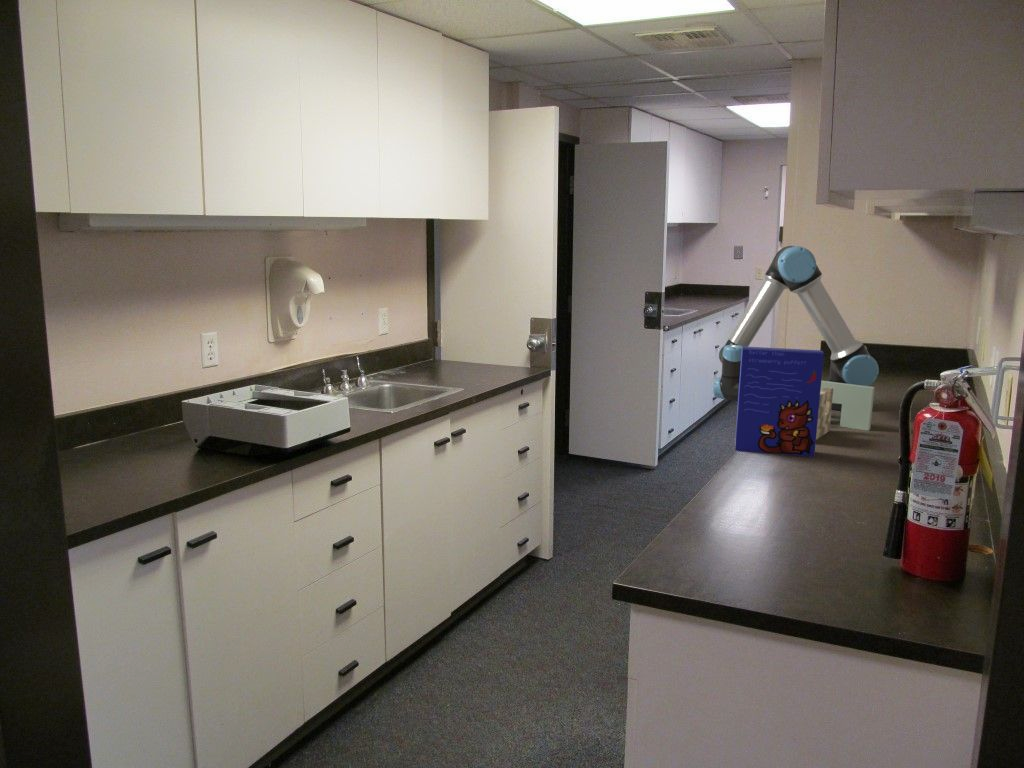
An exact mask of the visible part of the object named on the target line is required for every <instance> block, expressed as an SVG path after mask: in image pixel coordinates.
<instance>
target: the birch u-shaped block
mask: <svg viewBox="0 0 1024 768" xmlns="http://www.w3.org/2000/svg"><path fill="white" fill-rule="evenodd" d="M832 399H833V388H828V387H825V388H823V391H820V401H819V411H818V422H817V433H816V441H817V440H819V438H822V437H823V436H824V435H826V434H827V433H828V432H830V428H831V427H830V426H831V418H832V410H833V409H832Z"/></svg>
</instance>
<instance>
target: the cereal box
mask: <svg viewBox="0 0 1024 768" xmlns="http://www.w3.org/2000/svg"><path fill="white" fill-rule="evenodd" d="M824 356H825V353H824V351H823V350H822V349H821V350H820V349H819V350H818V349H800V348H799V349H798V348H781V347H780V348H779V347H766V346H765V347H763V346H761V347H759V346H748V347H745V346H742V353H741V367H740V380H739V394H738V401H737V410H736V421H735V422H736V423H735V425H736V426H735V434H734V436H735V437H734V451H738V452H747V453H748V452H749V453H750V452H751V453H761V454H775V455H784V456H785V455H788V456H801V457H813V458H814V457H815V452H816V444H817V443H816V441H817V440H816V433H817V422H818V411H819V401H820V390H821V381H822V379H823V368H824V367H823V366H824V358H825V357H824Z"/></svg>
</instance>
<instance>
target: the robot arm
mask: <svg viewBox="0 0 1024 768" xmlns="http://www.w3.org/2000/svg"><path fill="white" fill-rule="evenodd" d="M822 277H823V273H822V272H821V269H820V268H819V266H818V265H817V260H816V257H815V255H814V254H813V253H812V251H810V250H809V249H807V248H806V247H803V246H800V245H788V246H784V247H782V248H780V249H779V250H778V251H777V253H775V255H774V257H773V259H772V261H771V263H770V264H769V266H768V268H767V270H766V272H765V274H764V281H763V282H762V284H761V286H760V287H759V289H758V290H757V292H756V294H755V295H754V297H753V299H752V300H751V302H750V304H749V305H748V306H747V308H746V310H745V312H744V314H743V315H742V317H741V318H740V320H739V321H738V323H737V325H736V326H735V328H734V329H733V331H732V333H731V334H730V336H729V338H728V340H727V341H726V343H725V344H724V345H723V346H722V347H721V348H720V350H719V352H718V359H719V361H720V363H721V376H720V377H717V378H716V379H715V380H714V381H713V384H714V385H713V386H712V387H713V389H712V392H713V395H714V397H715V398H718V399H721V400H725V401H733V402H738V394H739V380H740V367H741V353H742V346H745V347H750V345H751V343H752V341H753V340H754V338H755V337H756V336H757V334H758V333H759V330H760V329H761V327H762V326H763V324H764V322H765V321H766V320H767V318H768V316H769V315H770V313H771V311H772V310H773V308H774V307H775V305H776V304H777V302H778V301H779V299H780V297H781V296H782V293H783V292H784V291H785V290H786V289H787V290H789V292H791V293H794V294H797V296H798V297H799V299H800V301H801V302H802V304H803V306H804V307H805V309H806V311H807V312H808V314H809V316H810V318H811V319H812V321H813V323H814V325H815V326H816V328H817V329H818V331H819V333H820V335H821V336H822V338H823V340H824V341H825V342H826V345H827V346H828V348H829V349H830V351H831V352H830V354H831V355H830V358H829V359H830V367H829V368H830V369H829V378H828V381H829V382H837V383H845V384H853V385H862V386H870V385H872V384H873V383H874V382H875V381H876V380H877V378H878V376H879V371H880V369H879V364H878V362H877V360H876V359H875V358H874V357H873V356H871V354H870V353H869V351H868V348H867V346H866V345H864V343H863V341H860V340H857V339H855V337H854V335H853V334H852V332H851V330H850V328H849V326H848V325H847V323H846V321H845V320H844V317H842V315H841V313H840V311H839V310H838V308H837V306H836V305H835V303H834V301H833V300H832V298H831V296H830V294H829V293H828V291H827V290H826V288H825V286H824V284H823V283H822V280H821V279H822ZM841 409H842V404H838V403H832V409H831V410H834V411H835V410H837V411H841Z"/></svg>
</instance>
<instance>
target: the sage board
mask: <svg viewBox="0 0 1024 768" xmlns="http://www.w3.org/2000/svg"><path fill="white" fill-rule="evenodd" d="M825 387H828V388H833V399H832V403H838V404H842V409H841V410H840V411H841V412H840V422H839V427H841V428H842V427H843V428H848V429H856V430H862V431H871V428H872V427H871V425H872V416H873V407H874V399H875V388H876V387H875V386H870V385H869V386H862V385H853V384H845V383H837V382H829V380H821V390H820V391H823V388H825Z"/></svg>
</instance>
